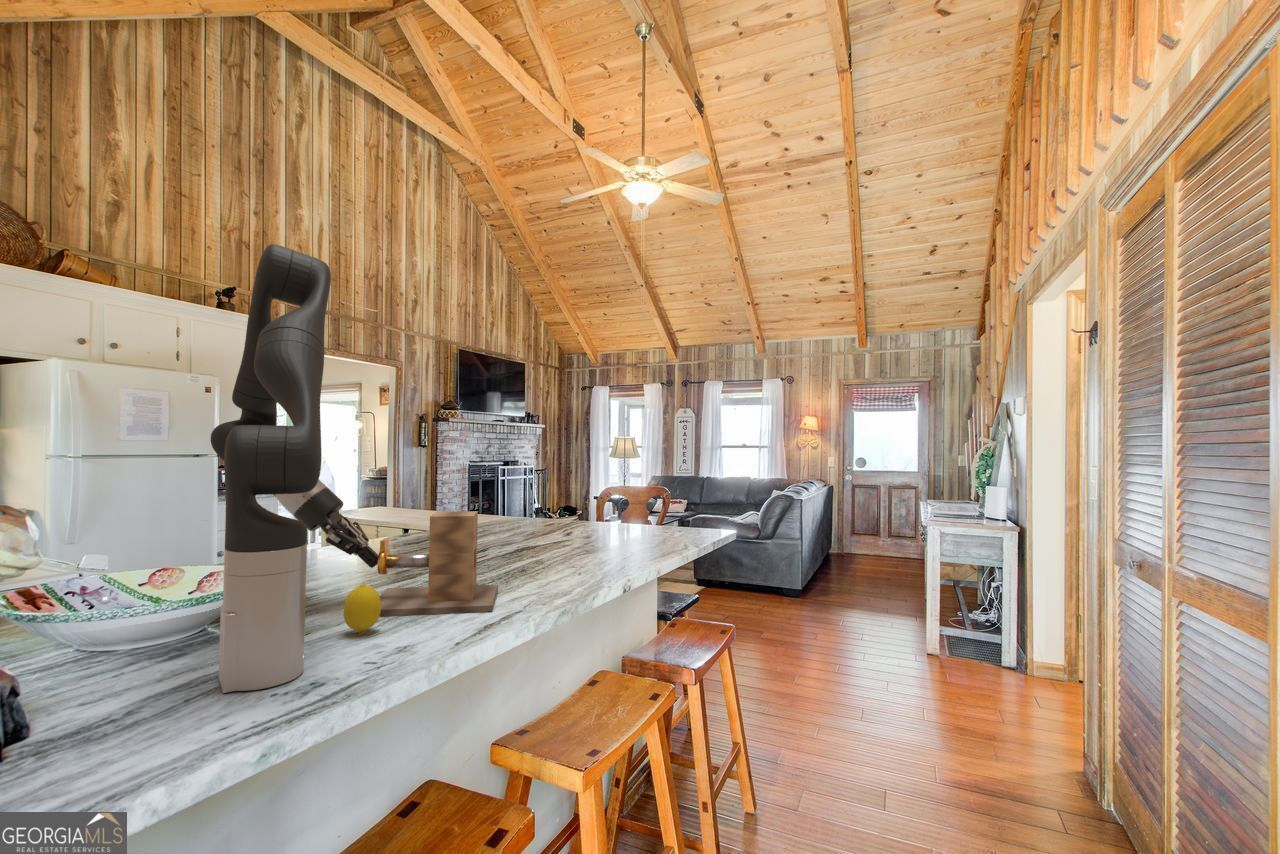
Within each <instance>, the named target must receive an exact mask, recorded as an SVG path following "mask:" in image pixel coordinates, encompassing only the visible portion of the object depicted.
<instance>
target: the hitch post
mask: <svg viewBox="0 0 1280 854" xmlns="http://www.w3.org/2000/svg"><path fill="white" fill-rule="evenodd" d="M478 512H479V511H473V510H471V511H470V510H469V511H468V510H465V511H464V510H463V511H435V512H434V513H433V514H432V515H430V516H429V533H428V534H429V541H428V542H429V543H428V545H429V546H428V551H429V552H428V554H429V567H428V585H427V586H421V587H420V586H419V587H417V586H415V587H413V586H412V587H390V588H389V587H388V588H386V590H385V589H384V591H383V592H382V593H381V594H380V595H379V597H380V601H381V612H380V616H379V618H381V617H398V616H399V617H400V616H401V617H402V616H404V617H405V616H426V615H446V614H447V615H449V614H450V615H451V613H454V614H471V613H470V612H479V613H488V612H487V611H492V610H494V607H493V606H494V605H495V603H496V602H495V601H496V600H497V593H498V591H499V590H498V589H499V585H498V584H481V585H479V584H478V585H477V583H478V581H477V577H478V576H477V575H478V573H477V572H478V567H477V566H478V524H479V522H478V519H479V518H478V516H479V515H478V514H479V513H478ZM494 602H495V603H494ZM492 612H493V611H492Z"/></svg>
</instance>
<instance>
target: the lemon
mask: <svg viewBox="0 0 1280 854" xmlns="http://www.w3.org/2000/svg"><path fill="white" fill-rule="evenodd" d="M379 596H380V595H379V592H378V591H377V590H376V589H375V588H373V587H371V586H369V585H367V584H366V583H362V584H360V585H359V586H357V587H355V588H354V589H352V590H351V591H350V592H349V593H348V595H347V596H346V598H345V600H344V603H343V604H344V605H343V618H344V621H345V623H346V625H347V626H348V628H350V629H351V630H355V631H357V632H358V633H359V634H364V633H365V632H366V631H367V630H368V629H370V628H372V627H374V625H375V624H376V623H377V622H378V621H379V619H380V617H381V616H380V612H381V601H380V597H379ZM379 616H380V617H379Z"/></svg>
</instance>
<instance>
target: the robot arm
mask: <svg viewBox="0 0 1280 854" xmlns="http://www.w3.org/2000/svg"><path fill="white" fill-rule="evenodd" d="M331 278H332V277H331V269H330V267H329V265H328V264H327V263H326V262H325V261H323V260H322V259H320V258H317V257H315V256H311V255H308V254H306V253H303V252H301V251H298V250H294V249H292V248H288V247H286V246H283V245H279V244H276V243H275V244H274V243H273V244H272V243H271V244H269V245H268V246H266V248H265V249H264V251H263V252H262V254H261V255H260V259H259V261H258V265H257V268H256V273H255V277H254V283H253V288H252V293H251V299H250V305H249V310H248V316H247V323H246V333H245V343H244V348H243V352H242V359H241V362H240V366H239V369H238V372H237V376H236V379H235V383H234V387H233V391H232V395H231V400H232V402H233V404H234V406H236V407H237V408H239V409H240V410H241V415H240V417H239V418H238V419H235V420H232V421H226V422H224V423H221V424H219V425H217V426H216V427H215V428H213V430H212V432H211V434H210V443H211V447H212V449H213V451H214V452H215V454H216V456H218V457H219V458H220V459H221V460H222V461H223V463H224V464H223V465H224V468H223V469H224V470H223V471H224V489H225V522H224V523H225V525H224V527H225V530H224V532H225V535H224V555H223V556H224V559H223V591H222V593H223V596H222V604H221V606H220V619H219V651H218V653H219V654H218V682H219V685H220V689H221V691H222V692H221V693H225V694H226V693H231V692H241V691H242V692H243V691H244V692H245V691H246V692H247V691H256V690H257V691H258V690H262V689H268V688H272V687H277V686H280V685H282V684H286V683H289V682H290V681H293V680H295V679H296V678H298V677H300V676H301V675H302V674H303V672H304V670H305V669H304V668H305V635H306V634H305V631H306V597H307V596H306V593H307V589H306V588H307V558H308V557H307V556H308V554H307V553H308V551H307V550H308V531H310V532H314V531H316V530H318V529H320V528H321V530H322V531H323V532H324V534H325V536H326V538H325V541H326V543H327V544H330V545H331V546H334V547H335V548H337V549H338V550H340V551H342V552H344V553H346V554H347V555H350V556H351V555H354V556H357V557H358V558H360V559H361V560H362V561H363V562H364V563H365V564H366V565H367V566H368V567H369V568H371V569H372V568H375V566H377V563H378V555H379V553H377V552H376V551H375V550H374V549H373V548H371V546H370V544H369V541H370V540H369V538H368V536H367V535H366V533H365V532H364V530H363V528H362V527H361V525H360V524H359V523H358V522H356V521H354V522H353V521H352V520H351V519H350V518H349V517H348V516H344V515H342V514H341V513H340V510H341V509H342V508H343V506H344V501H343V500H342V499H340V497H338V495H336V494H335V493H334V492H333V491H332V490H331V489H330V488H329V487H328V486H327V485H325V483H323V481H322V480H320V476H321V471H322V470H321V469H322V429H321V427H322V425H321V423H322V422H321V398H322V397H321V396H322V395H321V393H322V385H323V377H324V368H325V367H324V365H325V328H326V327H325V324H326V323H325V322H326V314H327V307H328V301H329V295H330V290H331V289H330V288H331V282H332V281H331ZM273 300H277V301H281V302H284V303H287V304H290V305H294V306H297V308H295V309H293V310H291V311H289V312H287V313H285V314H282V315H281V316H278V317H277V318H275V319H273V320H272V312H271V309H272V303H273V302H272V301H273ZM277 403H278V404H279V406H280V407H282V409H283V410H284V411H285V412H286V414H287V415H288V417H289V419H290V422H291V423H292V425H277V416H278V414H277V413H278V411H277V410H278V409H277ZM260 495H261V496H262V495H267V496H268V495H272V496H274V497H275V498H276V499H277V500H278V502H279V503H280V504H281V506H282V507H283V508H284V509H285V510H287V511H288V512H289V513H290V514H291V515H292V517H294V518H291V517H286V516H283V515H279V514H277V513H274V512H272V511H270V510H268V509H267V508H265V507H263V506H262V505H261V504H259V502H258V501H257V498H256V496H260Z"/></svg>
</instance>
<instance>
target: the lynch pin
mask: <svg viewBox="0 0 1280 854" xmlns="http://www.w3.org/2000/svg"><path fill="white" fill-rule="evenodd" d="M389 545H390V539H389V538H386V537H384V538H383V539H382V540H380V541H379V552H378V563H377V565H376V566H377V567H376V568H377V572H378V575H381V576H382V575H388V574H389V572H390V569H413V568H415V569H416V568H417V569H418V568H421V569H422V568H429V553H405V554H404V553H401V554H400V553H398V554H396V553H395V554H391V551H390V549H389V548H390V547H389Z"/></svg>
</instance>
